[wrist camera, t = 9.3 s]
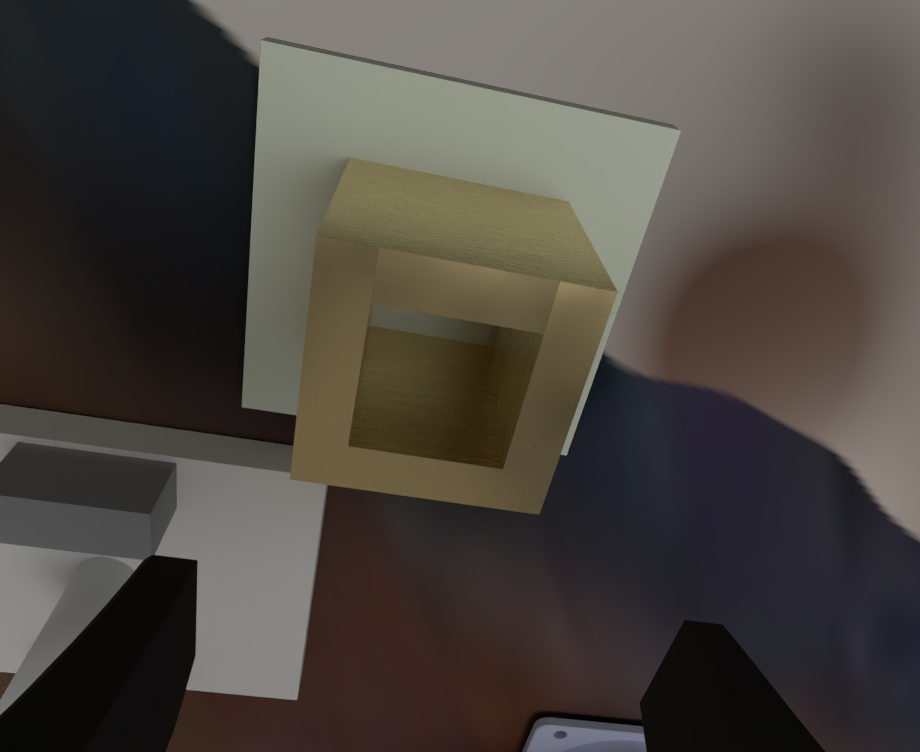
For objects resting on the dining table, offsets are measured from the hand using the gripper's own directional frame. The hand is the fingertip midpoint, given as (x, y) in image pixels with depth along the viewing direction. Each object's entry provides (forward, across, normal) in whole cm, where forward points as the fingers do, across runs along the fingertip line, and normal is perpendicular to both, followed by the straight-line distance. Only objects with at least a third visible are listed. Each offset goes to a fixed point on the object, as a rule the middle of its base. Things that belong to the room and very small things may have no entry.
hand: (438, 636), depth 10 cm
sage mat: (+9, 0, -2) cm, 9 cm away
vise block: (+9, +8, +9) cm, 15 cm away
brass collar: (+9, 0, -2) cm, 9 cm away
